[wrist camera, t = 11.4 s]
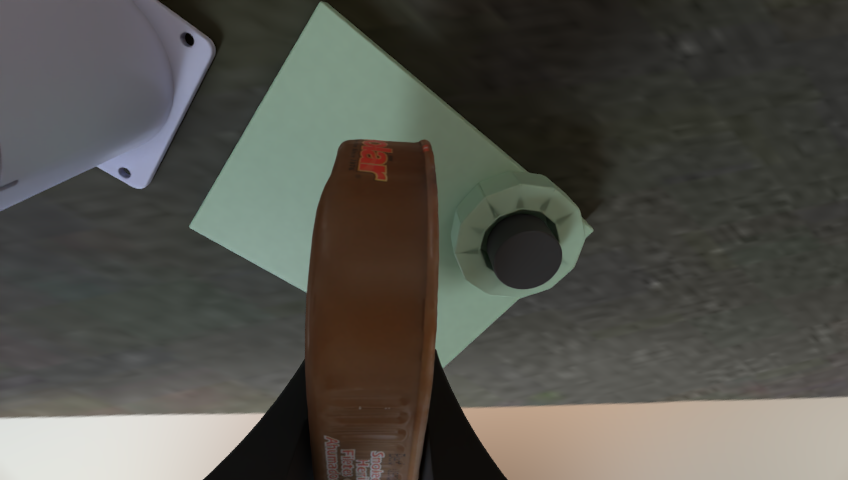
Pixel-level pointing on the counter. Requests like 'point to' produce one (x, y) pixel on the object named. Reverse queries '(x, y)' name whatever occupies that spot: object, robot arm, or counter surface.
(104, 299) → the counter surface
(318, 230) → the tin
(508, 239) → the button
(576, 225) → the pale green flat piece
